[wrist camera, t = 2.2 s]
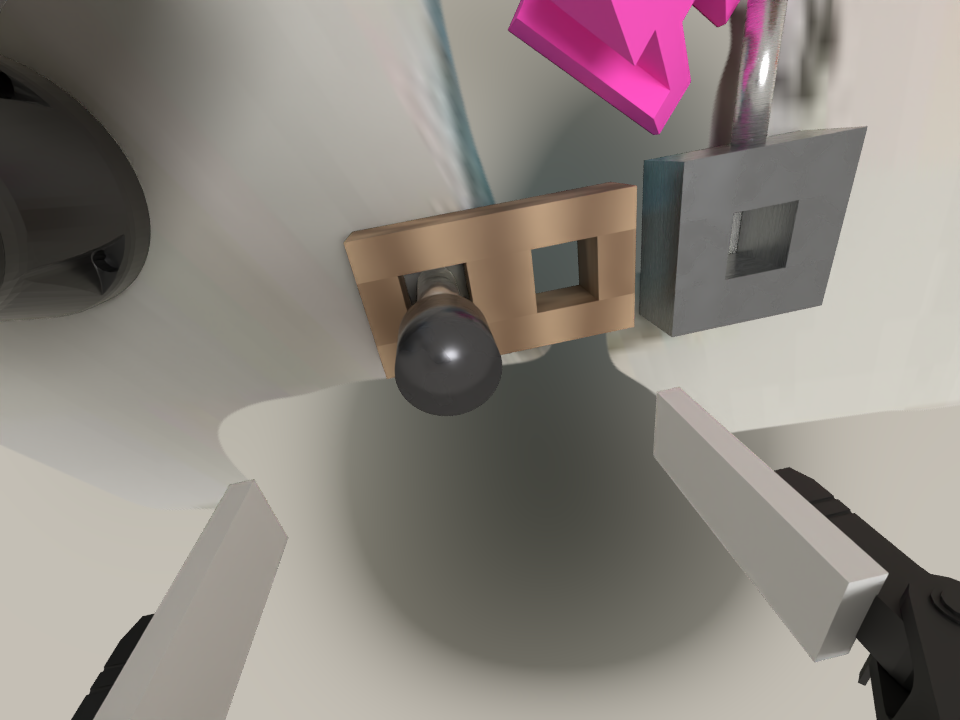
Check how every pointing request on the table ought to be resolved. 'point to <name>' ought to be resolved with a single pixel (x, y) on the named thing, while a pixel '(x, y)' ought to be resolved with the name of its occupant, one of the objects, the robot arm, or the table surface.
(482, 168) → the table surface
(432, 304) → the dark knobbed metal peg
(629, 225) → the stand
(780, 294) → the block
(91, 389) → the table surface
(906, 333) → the table surface
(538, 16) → the bracket
